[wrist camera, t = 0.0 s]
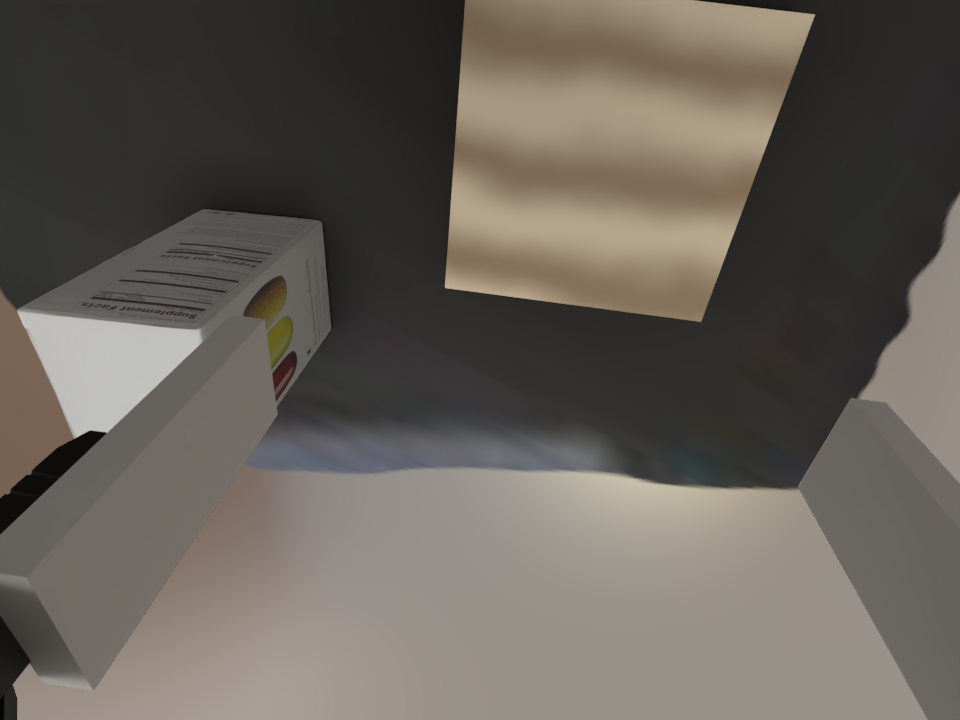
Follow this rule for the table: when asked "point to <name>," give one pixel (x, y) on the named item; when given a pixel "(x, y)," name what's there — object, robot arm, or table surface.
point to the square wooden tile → (611, 146)
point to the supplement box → (180, 309)
